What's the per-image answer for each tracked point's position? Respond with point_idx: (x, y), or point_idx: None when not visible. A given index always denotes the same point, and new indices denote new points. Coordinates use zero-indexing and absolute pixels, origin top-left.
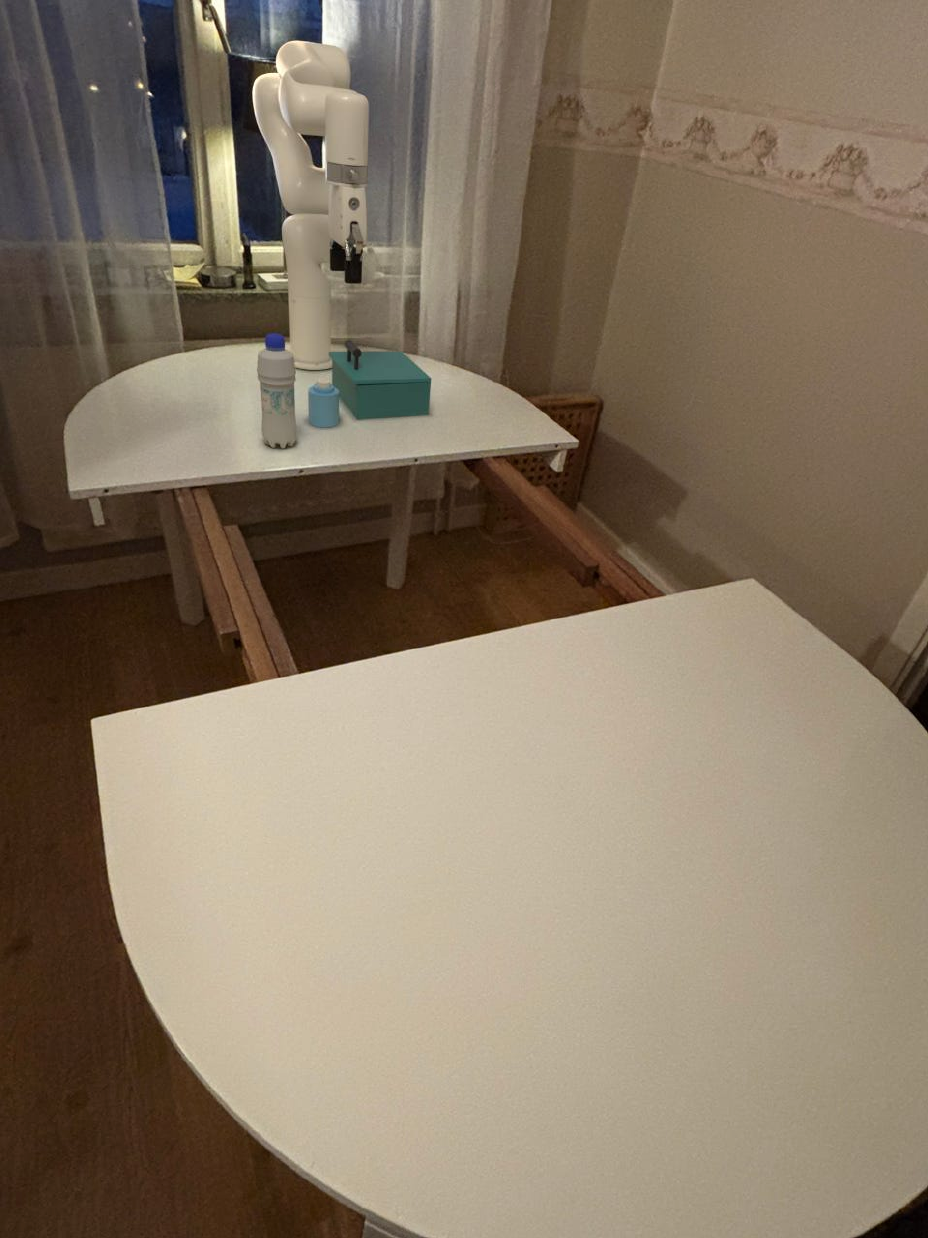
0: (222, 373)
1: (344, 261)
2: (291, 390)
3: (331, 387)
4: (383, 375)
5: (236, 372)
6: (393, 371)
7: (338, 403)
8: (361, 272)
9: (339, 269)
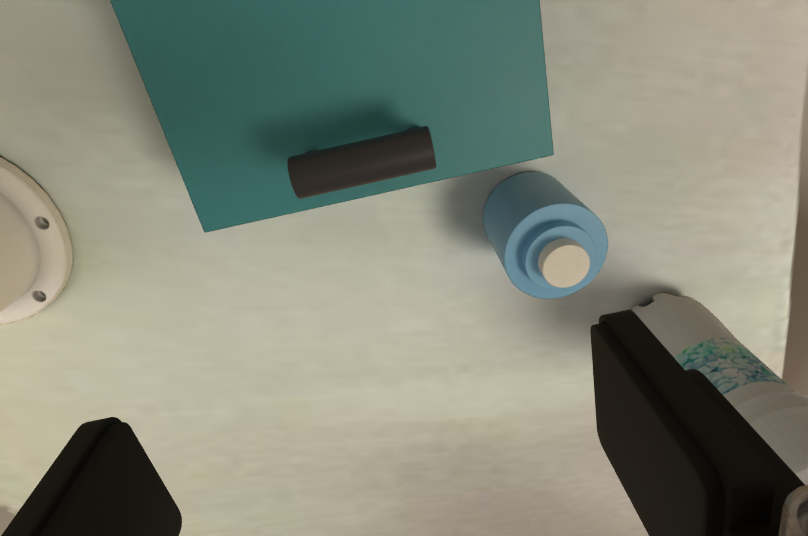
0: (184, 453)
1: (91, 501)
2: (786, 384)
3: (575, 234)
4: (484, 11)
5: (165, 426)
6: None
7: (567, 193)
8: (682, 369)
9: (150, 473)
